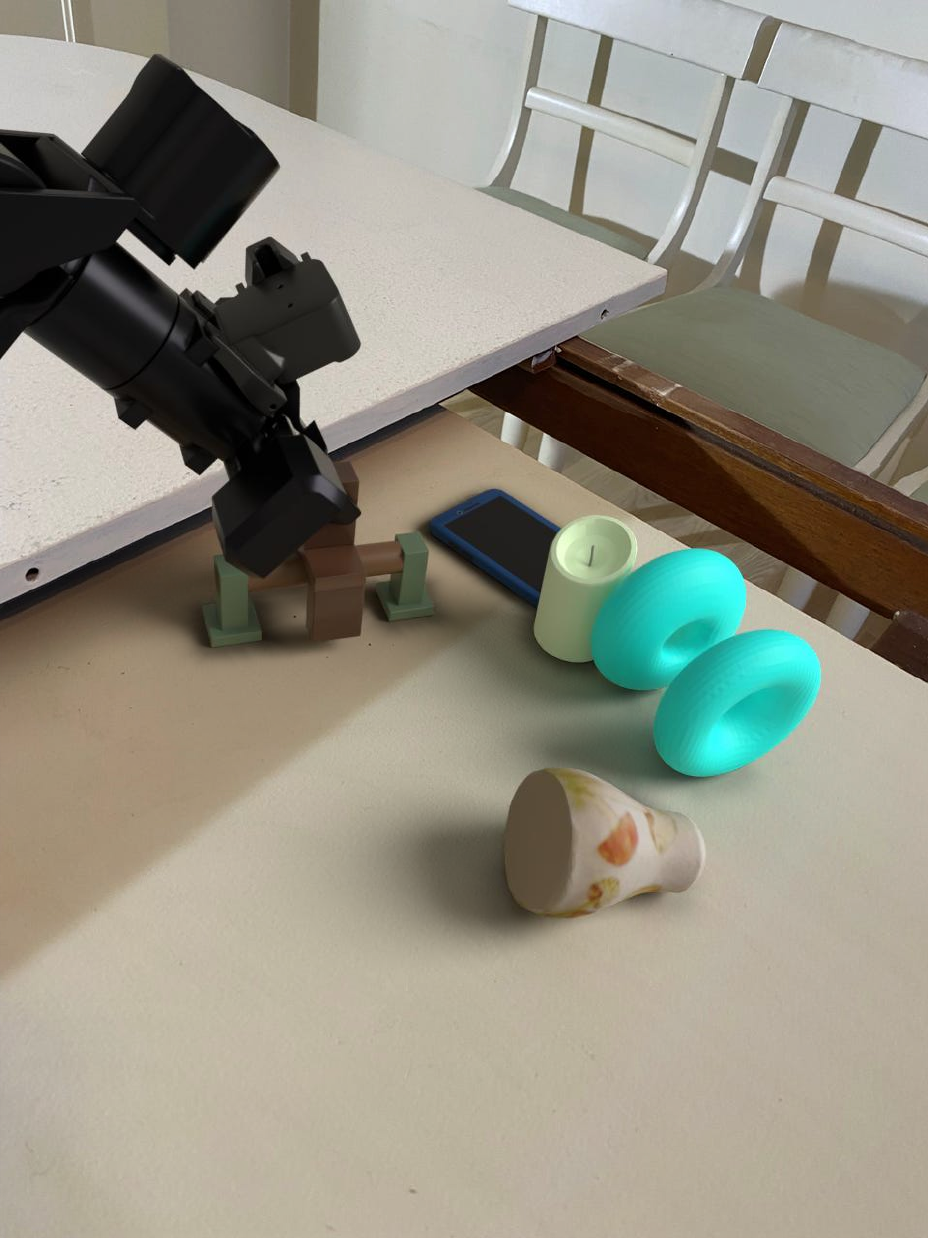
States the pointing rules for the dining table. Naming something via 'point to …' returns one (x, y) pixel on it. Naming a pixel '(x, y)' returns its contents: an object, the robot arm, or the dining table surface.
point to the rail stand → (237, 613)
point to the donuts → (704, 662)
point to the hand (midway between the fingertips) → (349, 505)
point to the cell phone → (500, 539)
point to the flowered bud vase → (592, 845)
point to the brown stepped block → (335, 574)
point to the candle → (581, 583)
